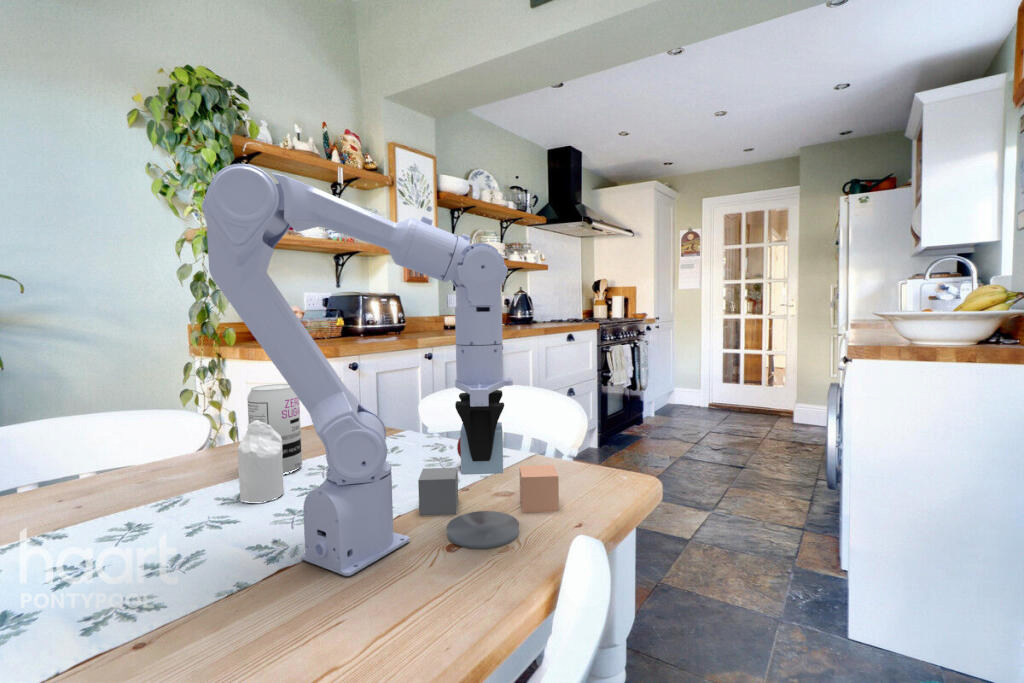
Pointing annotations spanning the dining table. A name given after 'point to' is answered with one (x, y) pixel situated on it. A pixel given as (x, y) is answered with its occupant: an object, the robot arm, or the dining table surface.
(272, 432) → the grey crumpled-top cylinder
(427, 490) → the charcoal cube
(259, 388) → the white soda can
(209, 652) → the dining table surface
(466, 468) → the blue cube
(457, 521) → the slate coaster
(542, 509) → the terracotta cube
